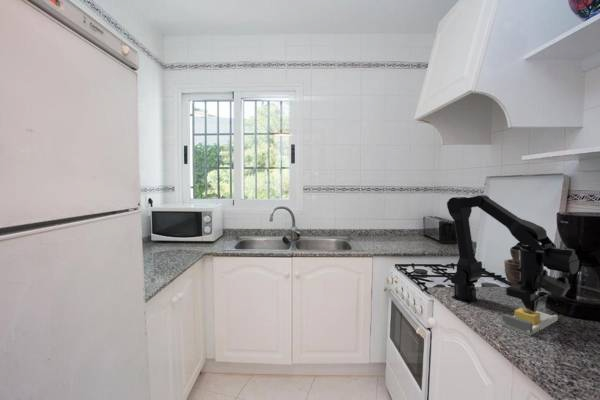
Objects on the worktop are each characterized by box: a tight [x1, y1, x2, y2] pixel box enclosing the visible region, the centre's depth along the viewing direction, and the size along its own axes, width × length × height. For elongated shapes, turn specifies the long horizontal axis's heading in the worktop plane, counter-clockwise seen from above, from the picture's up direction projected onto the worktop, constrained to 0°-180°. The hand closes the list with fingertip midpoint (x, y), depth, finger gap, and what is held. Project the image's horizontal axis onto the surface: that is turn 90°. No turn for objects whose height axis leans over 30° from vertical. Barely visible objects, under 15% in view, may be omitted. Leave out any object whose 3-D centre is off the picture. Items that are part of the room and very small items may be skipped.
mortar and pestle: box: [503, 247, 522, 286], centre depth 108 cm, size 12×9×20 cm
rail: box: [502, 310, 559, 337], centre depth 86 cm, size 7×18×4 cm, turn 118°
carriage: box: [513, 307, 540, 326], centre depth 85 cm, size 5×4×4 cm
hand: (531, 314), depth 87 cm, fingers closed
